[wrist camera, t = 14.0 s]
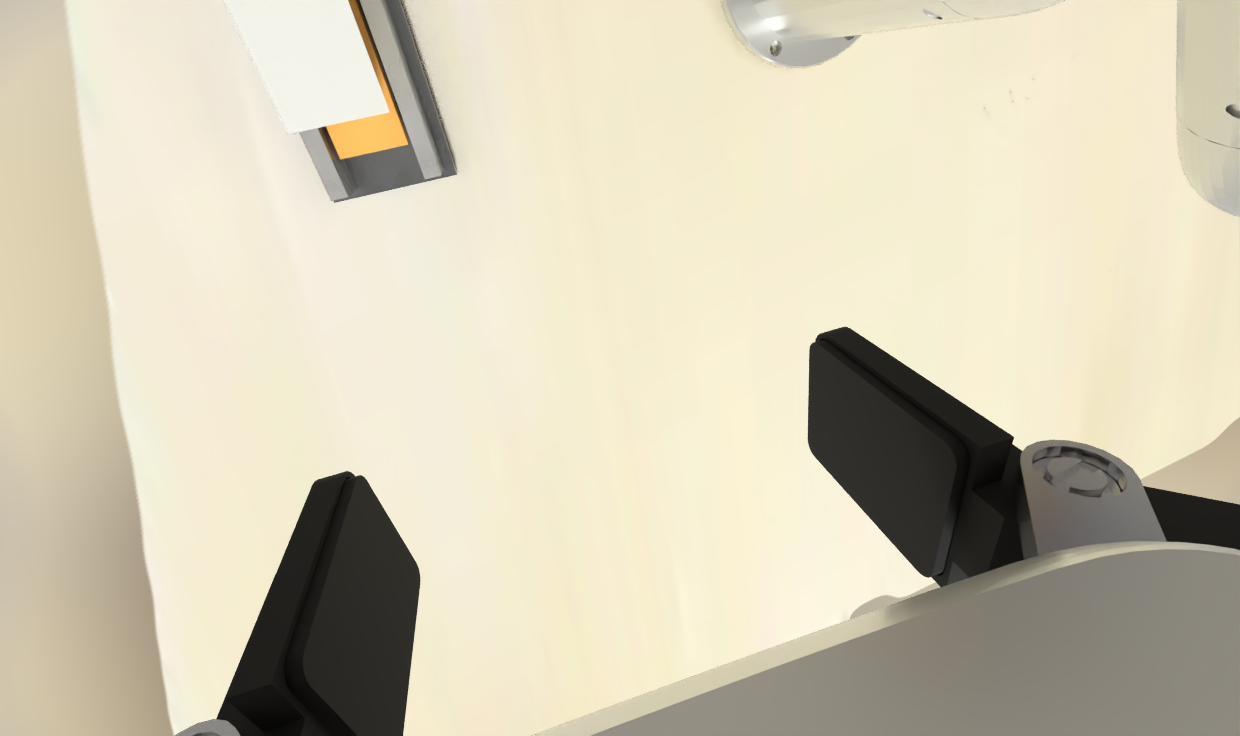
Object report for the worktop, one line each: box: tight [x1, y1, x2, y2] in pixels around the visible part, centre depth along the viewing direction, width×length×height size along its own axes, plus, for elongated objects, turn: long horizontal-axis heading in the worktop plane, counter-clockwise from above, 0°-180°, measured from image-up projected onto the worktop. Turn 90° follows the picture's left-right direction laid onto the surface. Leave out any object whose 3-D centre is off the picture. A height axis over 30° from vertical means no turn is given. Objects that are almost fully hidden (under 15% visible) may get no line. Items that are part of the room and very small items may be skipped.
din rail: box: [299, 0, 457, 203], centre depth 29 cm, size 8×16×4 cm, turn 10°
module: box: [224, 0, 390, 134], centre depth 23 cm, size 4×7×10 cm, turn 10°
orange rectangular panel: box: [326, 0, 410, 160], centre depth 28 cm, size 4×11×1 cm, turn 10°
